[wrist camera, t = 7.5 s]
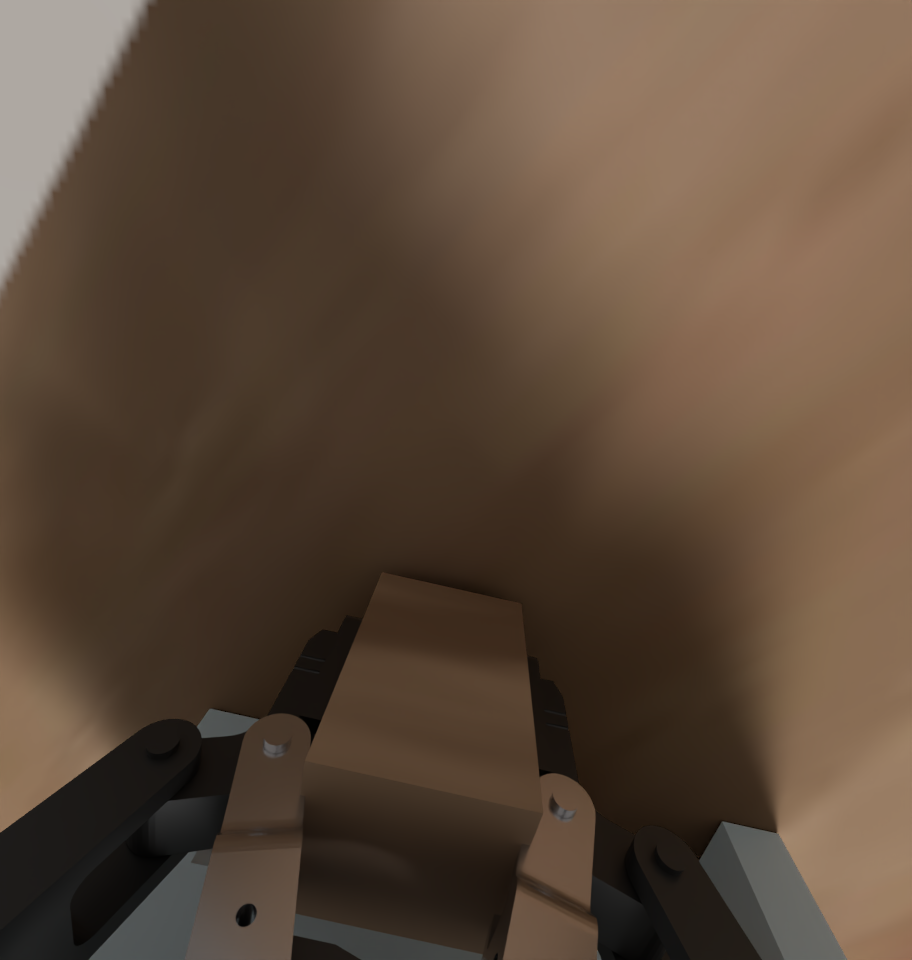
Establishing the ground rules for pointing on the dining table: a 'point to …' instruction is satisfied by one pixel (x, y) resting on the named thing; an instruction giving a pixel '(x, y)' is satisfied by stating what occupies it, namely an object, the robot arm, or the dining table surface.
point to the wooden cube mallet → (422, 769)
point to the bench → (727, 861)
